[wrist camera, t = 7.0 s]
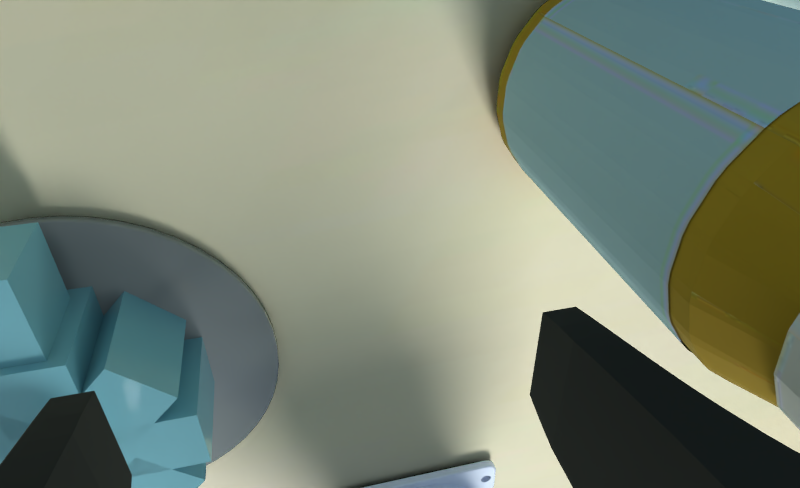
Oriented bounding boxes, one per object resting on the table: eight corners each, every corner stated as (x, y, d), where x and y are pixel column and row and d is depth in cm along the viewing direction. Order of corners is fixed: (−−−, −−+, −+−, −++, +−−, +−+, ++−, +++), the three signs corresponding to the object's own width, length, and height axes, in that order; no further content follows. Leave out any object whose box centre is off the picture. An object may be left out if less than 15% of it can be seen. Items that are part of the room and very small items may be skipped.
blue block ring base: (296, 449, 26) (305, 534, 23) (-28, 514, 24) (-70, 620, 20) (247, 183, 18) (250, 252, 15) (-232, 240, 16) (-350, 336, 13)
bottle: (446, 113, 19) (831, 580, 7) (598, -89, 16) (1625, 52, 4) (583, 207, 22) (1006, 634, 10) (724, 50, 20) (1503, 352, 8)
